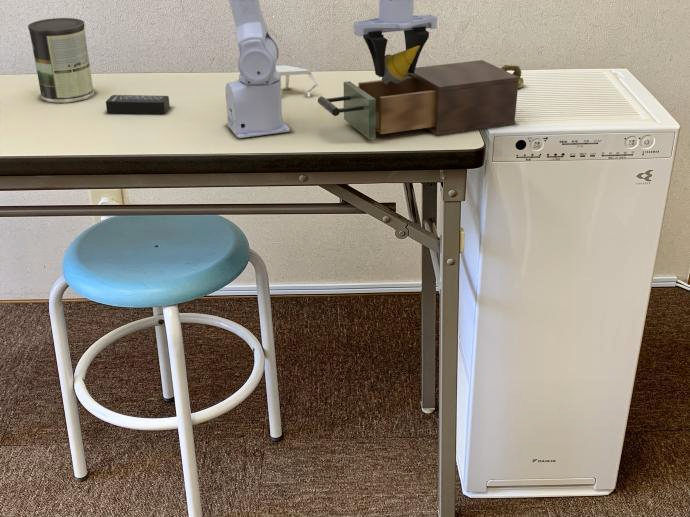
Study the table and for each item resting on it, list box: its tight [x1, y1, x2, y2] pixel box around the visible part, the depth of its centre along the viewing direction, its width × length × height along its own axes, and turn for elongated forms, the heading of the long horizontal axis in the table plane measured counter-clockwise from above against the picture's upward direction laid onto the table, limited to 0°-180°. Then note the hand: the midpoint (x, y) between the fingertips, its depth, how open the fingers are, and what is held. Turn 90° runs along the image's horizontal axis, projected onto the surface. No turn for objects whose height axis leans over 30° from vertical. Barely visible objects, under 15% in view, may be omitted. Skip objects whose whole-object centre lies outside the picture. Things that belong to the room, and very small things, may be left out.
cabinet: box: [407, 59, 519, 137], centre depth 150 cm, size 16×13×9 cm
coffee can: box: [27, 17, 95, 104], centre depth 163 cm, size 10×10×14 cm
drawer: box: [317, 76, 437, 140], centre depth 144 cm, size 20×11×7 cm, turn 112°
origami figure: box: [276, 65, 319, 98], centre depth 165 cm, size 12×8×5 cm
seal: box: [500, 64, 524, 89], centre depth 170 cm, size 9×5×15 cm
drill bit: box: [381, 46, 420, 84], centre depth 142 cm, size 5×5×10 cm
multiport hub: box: [105, 94, 171, 116], centre depth 157 cm, size 4×11×2 cm, turn 87°
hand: (394, 73), depth 143 cm, fingers closed on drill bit, 5 cm apart
